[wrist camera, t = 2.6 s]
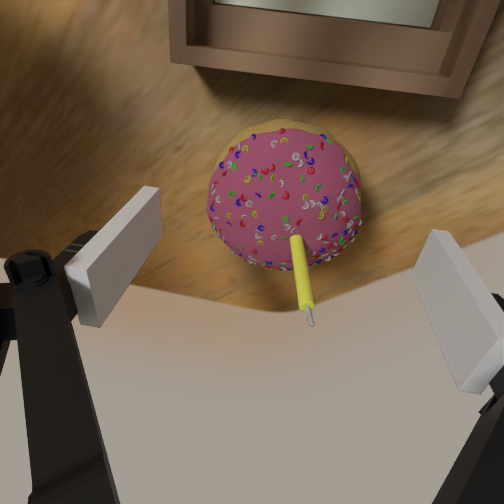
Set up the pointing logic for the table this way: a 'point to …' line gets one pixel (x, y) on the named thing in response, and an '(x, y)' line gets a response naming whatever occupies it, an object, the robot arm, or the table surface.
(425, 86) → the walled box
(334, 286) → the table surface
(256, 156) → the cupcake
